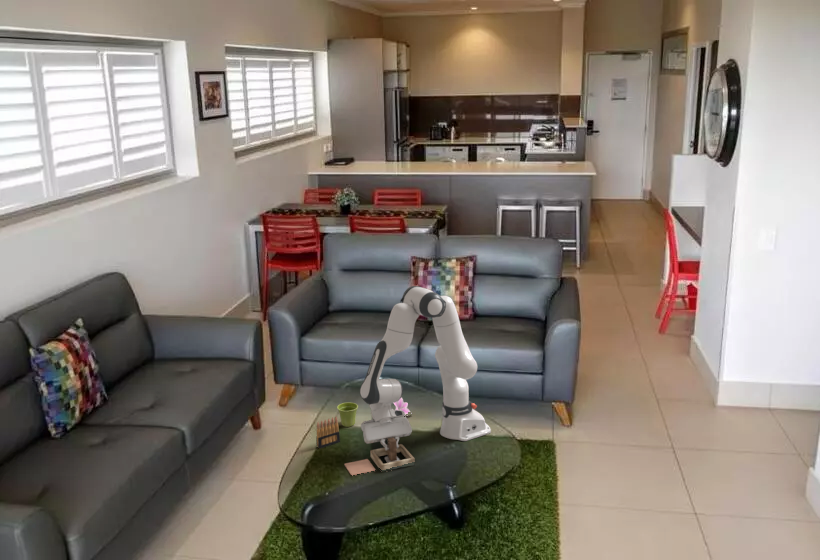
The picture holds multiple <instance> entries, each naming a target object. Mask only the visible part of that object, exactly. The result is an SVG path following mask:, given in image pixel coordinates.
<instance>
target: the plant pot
mask: <svg viewBox="0 0 820 560" xmlns="http://www.w3.org/2000/svg"><path fill="white" fill-rule="evenodd" d="M336 408H337V409H336V410H337V411H338V412H339V413H338V414H339V417H340V423H341V425H342V426H343V427H346V428H350V427H352V426H355V425H354V424H356V419H357V418H356V417H357V412H358V408H359V405H358V404H357V403H355V402H343V403H340V404H338V405H337V406H336Z"/></svg>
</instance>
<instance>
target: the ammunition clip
mask: <svg viewBox="0 0 820 560" xmlns="http://www.w3.org/2000/svg"><path fill="white" fill-rule="evenodd" d="M339 430H340V429H339V420H338V417H337V416H335V417H331V420H330V418H328V419H327V420H326V419H324V420H321V421H320V422H319V421H317V422H316V437H315V438H316V446H318V448H320V449H324V448H326V447H330V446H333V445H335V444H339V443H341V438H340V437H341V436H340V435H341V434H340V431H339ZM316 446H315V447H316ZM318 448H317V449H318Z"/></svg>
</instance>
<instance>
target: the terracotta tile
mask: <svg viewBox="0 0 820 560" xmlns="http://www.w3.org/2000/svg"><path fill="white" fill-rule="evenodd" d="M344 467H345V468H346V469H347V471H348V473H349V474H350V475H352V476H351V477H354V476H353V475H355V476H358V475H357V474H360V475H362V474H361V473H364V474H368V473H367V472H369V473H372V472H371V471H374V472H376V471H375V470H376V468H375V467H374V466H373V464H372V463H371V461H370V460H369V459H368V458H365V459H360V460H356V461H355V460H354V461H352V462H351V461H350V462H346V463H344Z"/></svg>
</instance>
